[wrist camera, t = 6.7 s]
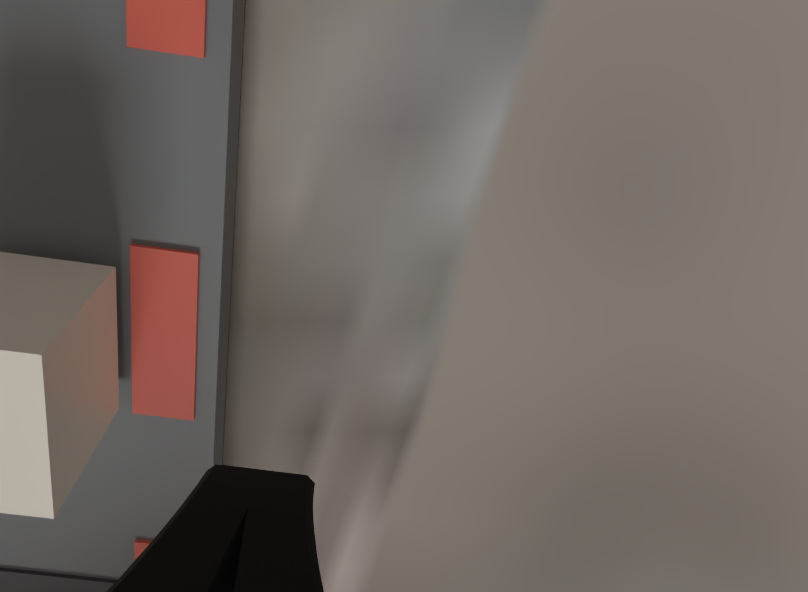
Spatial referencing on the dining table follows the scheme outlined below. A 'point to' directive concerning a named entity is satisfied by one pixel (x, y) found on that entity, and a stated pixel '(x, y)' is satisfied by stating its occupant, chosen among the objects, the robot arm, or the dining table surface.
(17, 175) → the breaker panel
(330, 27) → the dining table surface
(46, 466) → the handle mid
